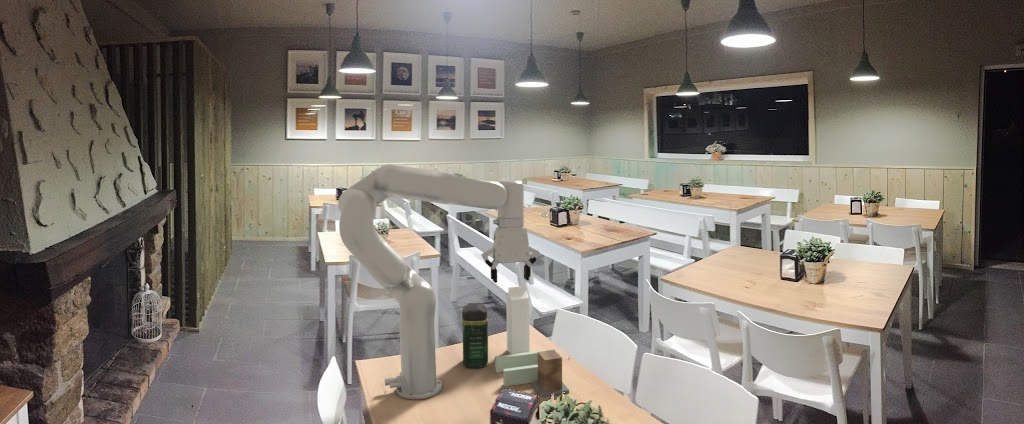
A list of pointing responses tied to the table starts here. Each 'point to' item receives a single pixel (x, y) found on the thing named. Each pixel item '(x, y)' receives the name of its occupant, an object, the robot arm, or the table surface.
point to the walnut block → (549, 370)
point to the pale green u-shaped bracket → (518, 367)
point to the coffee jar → (475, 335)
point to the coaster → (548, 393)
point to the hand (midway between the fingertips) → (510, 280)
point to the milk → (517, 320)
